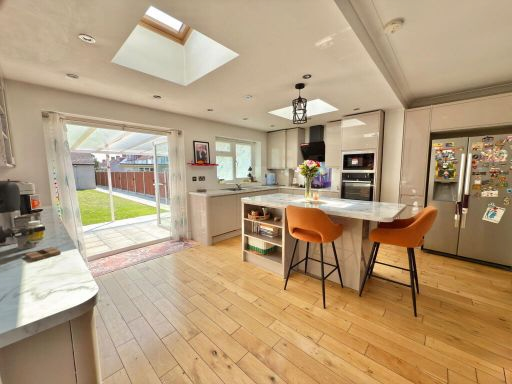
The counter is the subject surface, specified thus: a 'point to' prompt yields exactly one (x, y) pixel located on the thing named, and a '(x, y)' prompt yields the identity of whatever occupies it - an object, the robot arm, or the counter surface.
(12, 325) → the counter surface
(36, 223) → the supplement bottle
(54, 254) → the walnut trivet
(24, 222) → the coffee box
